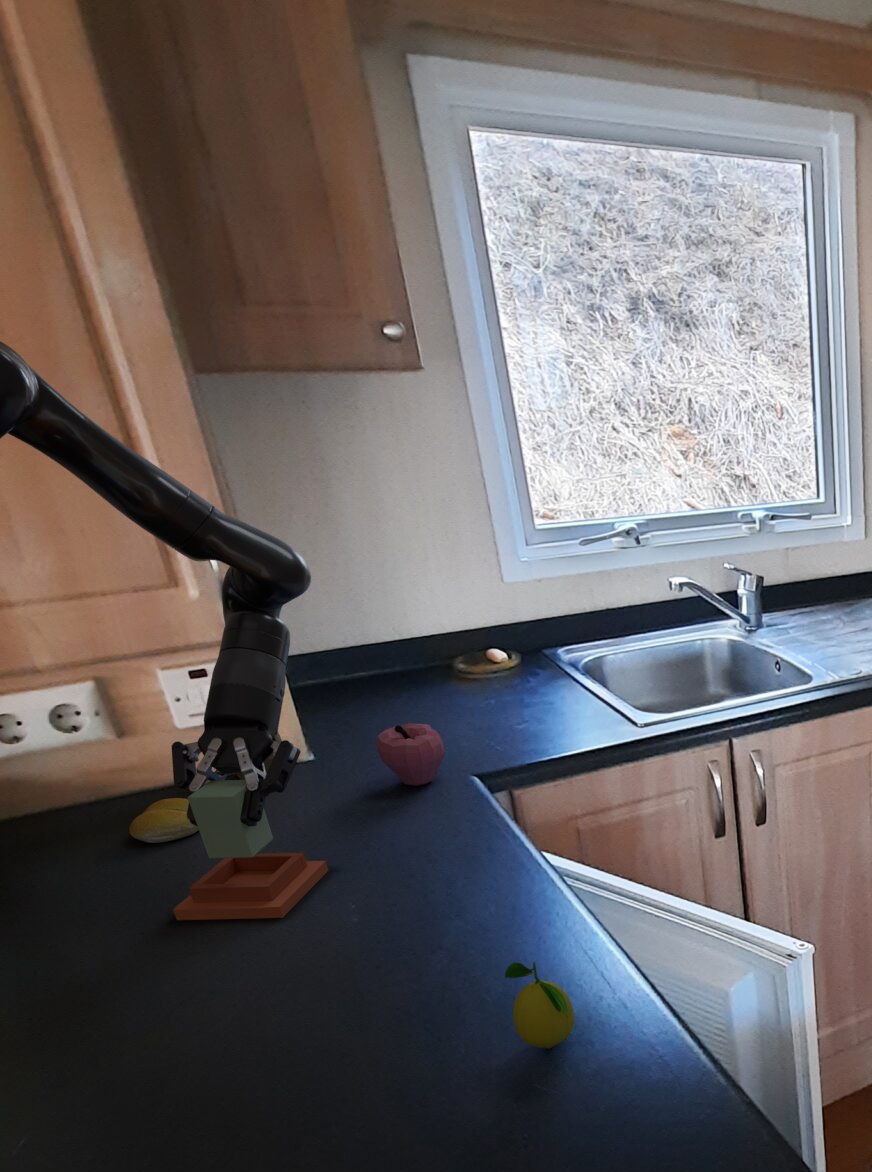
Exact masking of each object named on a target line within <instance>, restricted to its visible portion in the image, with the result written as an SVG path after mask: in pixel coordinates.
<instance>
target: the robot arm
mask: <svg viewBox="0 0 872 1172" xmlns="http://www.w3.org/2000/svg"><path fill="white" fill-rule="evenodd" d="M7 434H8V435H10V436H11V437H14V438H15V439H18V440H19V441H21V442H23V443H25V444H27V445H28V446H30V447H32V448H34V449H35V450H37V451H38V452H40V453H42V454H44V456H46V457H48V458H50V459H51V460H52V461H54V462H56V464H58V465H60V466H61V467H63V469H65V470H67V471H68V472H69V473H71V474H72V475H73V476H74V477H76V478H77V479H79V480H80V481H81V482H83V483H84V484H85V485H86V486H87V487H89V488H90V489H91V490H92V491H94V492H95V493H96V494H97V495H99V496H100V497H101V498H102V499H104V501H106V502H108V504H110V505H111V506H112V507H113V508H114V509H115V510H117V511H118V512H119V513H121V514H122V515H123V516H125V517H126V518H127V519H129V520H130V521H132V522H133V523H134V524H135V525H137V526H138V527H140V528H141V529H143V530H144V531H146V532H147V533H149V534H150V535H151V536H153V537H155V538H156V539H158V540H159V541H161V542H162V543H164V544H165V545H167V546H168V547H170V548H171V549H174V550H175V551H176V552H177V553H179V554H181V555H182V556H184V557H186V558H188V559H190V560H191V561H194V562H199V563H201V562H208V561H217V562H220V563H222V564H225V565H227V566H228V569H227V570H226V572H225V575H224V577H223V581H222V586H221V599H222V615H223V619H224V620H223V621H224V628H223V631H222V637H221V641H220V645H219V652H218V656H217V659H216V661H215V664H214V667H213V670H212V673H211V679H210V685H209V689H208V694H207V698H206V699H207V700H206V705H205V709H204V715H203V727H204V730H203V732H202V734H201V735H200V736H199V738H198V739H197V741H194V742H190V743H185V744H184V743H182V742H181V741H175V742H173V743H171V760H172V762H171V763H172V774H173V775H172V776H173V777H172V778H173V785H174V786H175V787H176V788H178V789H181V790H182V791H184V792H185V793H187V794H189V796H190V795H192V794H193V793H194V792H196V791H197V790H199V789H200V788H201V787H203V786H204V785H206V784H207V783H208V782H210V781H211V780H226V779H227V776H228V775H233V774H236V773H237V772H240V773H243V774H244V776H245V780H246V784H247V788H248V789H249V791H248V792H245V794H244V800H243V806H242V811H241V817H240V821H241V822H242V823H243V824H245V825H247V826H256V825H257V822H259V821H260V820H261V818H262V814H263V808H264V809H265V803H266V798H267V797H268V796H269V795H270V794H273V793H278V794H280V793H284V791H285V790H286V787H288V784H289V781H290V779H291V776H292V774H293V772H294V770H295V768H296V767H295V766H296V765H297V763H298V760H299V758H300V756H301V750H300V748H298V747H297V746H296V745H295V744H293V743H292V742H291V741H289V740H287V739H283V740H282V742H278V741H276V739H275V735H276V734H277V732H279V726H280V720H281V713H282V709H283V703H284V697H285V695H286V694H285V693H286V691H285V690H286V672H287V671H286V670H287V663H288V658H289V652H290V646H291V631H290V629H289V627H288V625H287V624H286V623H285V622H284V620H282V619H280V615H281V611H282V608H283V606H284V605H286V604H287V603H290V602H291V601H293V600H296V599H297V598H299V597H300V596H302V595H303V594H305V592H306V591H307V590H308V589H309V587H310V586H311V584H312V573H311V570H310V567H309V565H308V563H307V561H306V560H305V559H304V557H302V555H301V554H300V553H299V552H297V550H296V549H294V548H293V547H292V546H291V545H289V544H288V543H286V542H285V541H283V540H281V539H279V538H278V537H275V536H274V535H272V534H269V533H268V532H265V531H263V530H261V529H259V528H257V527H255V526H252V525H250V524H249V523H247V522H245V521H243V520H240V519H237V518H234V517H232V516H229V515H228V514H226V513H224V512H222V511H221V510H220V509H218V508H217V507H216V506H214V505H213V504H212V503H210V501H208V500H206V499H205V498H203V497H202V496H200V495H199V494H198V493H196V492H195V491H193V490H192V489H190V488H189V487H188V486H186V485H185V484H183V483H182V482H181V481H179V480H178V479H176V478H175V477H173V476H171V475H170V474H169V473H168V472H166V471H164V469H161V468H160V467H158V466H157V465H156V464H154V463H153V462H151V461H150V460H148V459H147V458H145V457H144V456H142V455H141V454H139V453H138V452H136V451H135V450H133V449H132V448H131V447H129V446H127V445H126V444H125V443H123V442H122V441H120V440H119V439H118V438H116V437H115V436H113V435H112V434H111V433H109V432H108V431H107V430H105V429H104V428H102V427H101V426H100V425H98V424H97V423H96V422H94V421H93V420H92V419H91V418H90V417H88V416H87V415H86V414H85V413H83V412H82V411H80V409H78V408H77V407H76V406H74V405H73V403H71V402H70V401H68V400H67V399H66V398H65V397H64V396H63V395H62V394H60V392H59V391H57V389H55V388H54V387H53V386H52V385H51V384H50V383H48V382H47V381H46V380H45V379H44V378H43V377H42V376H41V375H40V374H39V373H38V372H37V371H36V370H35V369H33V368H32V367H31V366H30V365H29V364H28V363H27V361H26V360H25V359H24V358H23V357H22V356H21V355H20V354H19V353H18V352H17V351H16V350H14V349H13V348H12V347H11V346H9V345H7V344H6V343H5V342H2V341H1V340H0V440H1V439H3V437H5V436H6V435H7ZM201 753H202V755H203V757H202V758H201V760H200V758H199V756H200V754H201ZM272 753H273V756H274V758H273V760H272V763H271V765H270V767H269V770H268V772H267V774H266V770H265V766H264V762H265V760H266V759H267V758H268V757H269V756H270V755H271V754H272ZM199 761H200V762H199ZM197 762H199V763H198V765H196V764H197ZM213 769H214V771H213ZM187 818H188V819H189V820H190V823H191V824H193V825H195V826H197V823H196V820H195V817H194V814H193V811H192V809H191V806H190V803H189V804H188V810H187ZM197 827H198V826H197Z"/></svg>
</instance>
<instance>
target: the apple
mask: <svg viewBox="0 0 872 1172" xmlns="http://www.w3.org/2000/svg"><path fill="white" fill-rule="evenodd" d="M375 747H376V752H377V754H378V756H379V758H380V760H381V762H382V763H384V765H386V767H387V768H388V769H390V771H391V772H393V773H394V774H395V776H397V777H398V778H399V779H400V781H401V782H402V783H403V784H404V785H407V786H408V785H409V786H416V787H417V786H423V785H426V784H428V783H430V782H432V781H433V780H435V779H436V776H437V774H438V771H439V768H440V766H441V764H442V762H443V759H444V757H445V754H446V751H445V746H444V742H443V739H442V738H441V735H440V734H439V732H438V731H437V730H435V729H433V728H432V727H431V725H430V724H427V723H411V722H410V723H409V722H407V723H404V724H401V725H399V724H397V725H395V726H392V727H388V728H387V729H385V730H384V731H382V732H381V733H379V734H378V736H377V738H376V742H375Z"/></svg>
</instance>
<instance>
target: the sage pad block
mask: <svg viewBox="0 0 872 1172" xmlns="http://www.w3.org/2000/svg"><path fill="white" fill-rule="evenodd" d="M248 791H249V789H248V788H247V784H246V780H241V779H225V780H211V781H210V782H208V783H207V784H206V785H204V786H203V787H201V788H200V789H199V790H197V791H196V792H194V793H193V794H192V795H190V794H189V796H187V799H188V800H189V803H190V806H191V809H192V811H193V814H194V817H195V820H196V823H197V826H198V829H199V830H198V831H199V835H200V837H201V839H202V843H203V845H204V848H205V851H206V854H207V857H208V858H209V859H224V858H243V857H253V856H255V855H256V854H257V853H259V852H261V850H263V848H265V847H266V846H267V845H268V844H269V843H271V842H272V841H273V840H274V836H273V833H272V830H271V827H270V824H269V823H270V822H269V820H268V817H267V813H266V810H265V807H264V808H263V814H262V818H261V820H260V821H259V822H257V825H256V826H247V825H245V824H243V823H242V822H241V821H240V817H241V811H242V806H243V800H244V794H245V792H248Z"/></svg>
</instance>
